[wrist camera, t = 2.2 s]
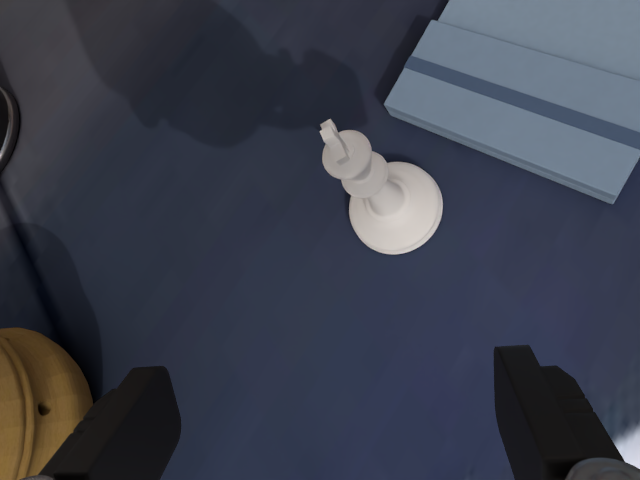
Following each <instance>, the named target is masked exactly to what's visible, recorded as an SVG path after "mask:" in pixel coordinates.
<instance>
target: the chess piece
mask: <svg viewBox="0 0 640 480" xmlns="http://www.w3.org/2000/svg"><path fill="white" fill-rule="evenodd" d="M320 126H321V128H322V130H321V131H320V134H321V136H322V138H323V141H324V142H325V143H326V145H325V147H324V150H323V154H322V161H323V165H324V168H325V169H326V171H327V172H328V173H329V174H330V175H331V176H333V177H335V178H338V179H341V182H342V185H343V187H344V189H345V190H346V191H347V192H348V193H349V194H350V195H351V198H350V203H349V216H350V221H351V224H352V227H353V229H354V231H355V232H356V234H357V235H358V237H359V238H360V239H361V241H362V242H363V243H364V244H366V245H367V246H368V247H370V248H371V249H373V250H375V251H378V252H380V253H385V254H402V253H406V252H410V251H412V250H414V249H416V248H418V247H420V246H421V245H423V244H424V243H425V242H426V241H427V240H428V239H429V238H430V237H431V236H432V235H433V234H434V232H435V231H436V229H437V227H438V225H439V223H440V220H441V216H442V210H443V201H442V195H441V192H440V189H439V187H438V185H437V183H436V182H435V181H434V179H433V178H432V177H431V176H430V175H429V174H428V173H426V172H425V171H424V170H423V169H421V168H419V167H418V166H416V165H413V164H410V163H406V162H389V163H387V162H386V161H385V159H384V158H383V157H382V156H381V155H380V154H378V153H376V152H373V151H372V150H371V145H370V143H369V141H368V139H367V138H366V137H365V136H364V135H363V134H362V133H360V132H358V131H355V130H345V131H341V132H339V133H338V131H337V129H336V126H335V124H334V123H333V122H332V120H331V119H329V120H327V121H326V122H324V123H322V124H320Z"/></svg>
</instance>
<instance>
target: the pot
mask: <svg viewBox="0 0 640 480" xmlns="http://www.w3.org/2000/svg"><path fill="white" fill-rule="evenodd" d="M92 406H93V400H92V396H91V393H90V389H89V386H88V382H87V380H86V379H85V377H84V375H83V373H82V371H81V369H80V367H79V366H78V365H77V363H76V362H75V361H74V360H73V359H72V358H71V357H70V355H69V354H68V353H67V352H66V351H65V350H64V349H63V348H62V347H60V346H59V345H58V344H56V343H55V342H53V341H52V340H50V339H49V338H47V337H46V336H44V335H42V334H41V333H39V332H36V331H32V330H28V329H24V328H18V327H15V328H4V329H0V480H20V479H22V478H25V477H29V476H34V475H38V474H39V473H40V471H41V470H42V469H43V468H44V466H45V465H46V464H47V463H48V461H49V460H50V459H51V457H52V456H53V455H54V454H55V452H56V451H57V450H58V449H59V447H60V446H61V445H62V444H63V442H64V441H65V440H66V438H67V437H68V436H69V435H70V433H73V430H74V428H75V427H76V426H77V425H78V423H79V422H80V421H82V420H83V417H84V416H85V414H86V413H87V412H88V411H89V409H90V408H91V407H92Z"/></svg>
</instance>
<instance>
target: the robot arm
mask: <svg viewBox="0 0 640 480" xmlns="http://www.w3.org/2000/svg"><path fill="white" fill-rule="evenodd" d="M18 129H19V112H18V107H17V104H16V101H15V99H14V98H13V96H12V95H11V94H10V93H9V92H8V91H7V90H6V89H4V88H2V87H0V172H1V171H2V170H3V168H4V167H5V165H6V163H7V162H8V160H9V158H10V156H11V154H12V151H13V149H14V146H15V143H16V139H17V135H18ZM494 391H495V411H496V418H497V423H498V428H499V432H500V435H501V438H502V441H503V444H504V447H505V450H506V453H507V456H508V459H509V462H510V465H511V468H512V472H513V475H514V478H515V480H640V469H638V468H636V467H635V466H633V465H630V464H628V463H625V461H624V460H623V458H622V456H621V455H620V453H619V451H618V450H617V448H616V446H615V445H614V443H613V441H612V440H611V438H610V436H609V435H608V433H607V432H606V430H605V428H604V427H603V425H602V423H601V422H600V420H599V418H598V417H597V415H596V413H595V412H593V408H592V407H591V405H590V403H589V402H588V400H587V398H585V395H584V394H583V392H582V390H581V389H580V387H579V385H578V384H577V382H576V380H575V379H574V378H573V377H571V376H570V375H569V374H567V373H566V372H564V371H563V370H562V369H560V368H559V367H558V366H540V365H539V363H538V361H537V359H536V357H535V355H534V353H533V351H532V350H531V348H530V346H529V345H517V346H501V347H495V348H494ZM180 433H181V417H180V413H179V409H178V406H177V402H176V398H175V394H174V391H173V387H172V383H171V379H170V376H169V373H168V370H167V369H166V368H165V367H164V366H154V367H138V368H133V369H132V370H131V371H130V372H129V373H128V375H127V376H126V377H125V379H124V380H123V381H122V383H121V384H120V385H119V386H118V388H117V389H112V390H111V391H110V392H108V393H107V394H106V395H104V396H103V397H102V398H100V399H99V400H98V401H96V402H95V403H94V404H93V406H92V407H91V408H90V409H89V411H88V412H87V413H86V414H85V416H84V417H83V420H82V421H80V422H79V423H78V425H77V426H76V427H75V428H74V430H73V433H70V435H69V436H68V437H67V438H66V440H65V441H64V442H63V444H62V445H61V446H60V447H59V449H58V450H57V451H56V452H55V454H54V455H53V456H52V457H51V459H50V460H49V461H48V463H47V464H46V465H45V466H44V468H43V469H42V470H41V471H40V473H39V474H38V475H34V476H29V477H25V478H22V479H20V480H160V478H161V476H162V474H163V472H164V470H165V468H166V466H167V464H168V462H169V460H170V458H171V456H172V454H173V452H174V450H175V448H176V446H177V444H178V441H179V438H180Z"/></svg>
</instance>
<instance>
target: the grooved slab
mask: <svg viewBox="0 0 640 480" xmlns="http://www.w3.org/2000/svg"><path fill="white" fill-rule="evenodd" d="M384 106H385V107H386V109H387V110H388V112H389V114H390V115H391V116H393V117H396V118H398V119H401V120H403V121H406V122H408V123H411V124H413V125H416V126H418V127H421V128H423V129H426V130H428V131H431V132H433V133H436V134H438V135H441V136H443V137H446V138H448V139H450V140H453V141H455V142H458V143H460V144H463V145H465V146H468V147H470V148H473V149H475V150H478V151H480V152H483V153H485V154H488V155H490V156H493V157H495V158H498V159H500V160H503V161H505V162H508V163H510V164H513V165H515V166H518V167H520V168H523V169H525V170H528V171H530V172H533V173H535V174H538V175H540V176H543V177H545V178H547V179H550V180H552V181H555V182H557V183H560V184H562V185H565V186H567V187H570V188H572V189H575V190H577V191H580V192H582V193H585V194H587V195H590V196H592V197H595V198H597V199H600V200H602V201H605V202H607V203H610V204H613V203H614V202H615V200H616V198H617V197H618V195H619V193H620V191H621V190H622V188H623V186H624V184H625V182H626V181H627V179H628V177H629V175H630V174H631V172H632V170H633V168H634V167H635V165H636V163H637V161H638V159H639V158H640V0H449V2H448V4H447V5H446V7H445V9H444V11H443V12H442V14H441V16H440V18H439V19H438V21H435V20H431V21H430V23H429V25H428V27H427V28H426V30H425V32H424V34H423V36H422V37H421V39H420V41H419V43H418V44H417V46H416V48H415V50H414V51H413V53H412V55H410V57H409V58H408V60H407V62H406V64H405V65H404V69H403V71H402V73H401V74H400V76H399V78H398V80H397V81H396V83H395V85H394V87H393V88H392V90H391V92H390V94H389V96H388V97H387V99H386V101H385V103H384Z"/></svg>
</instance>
